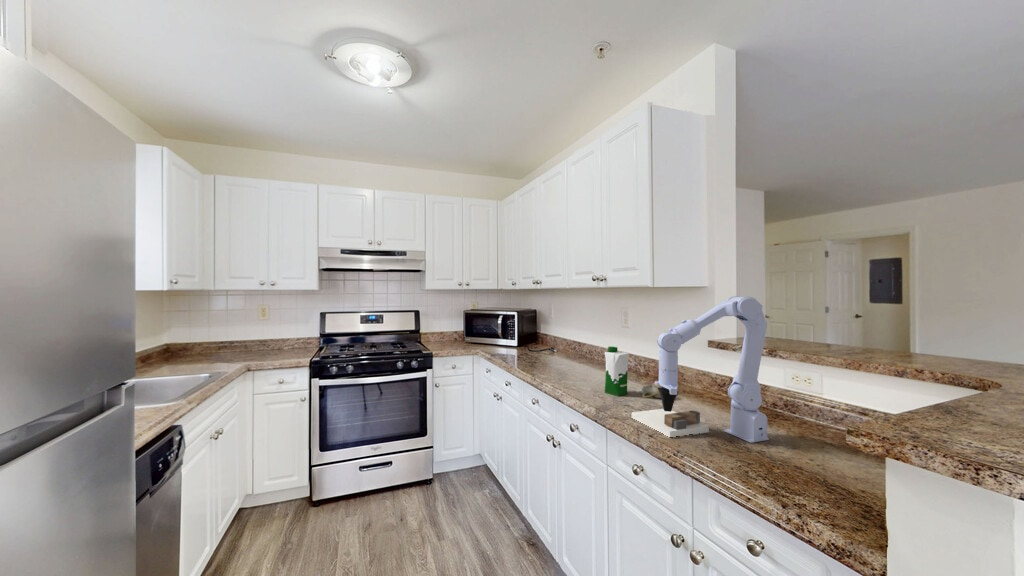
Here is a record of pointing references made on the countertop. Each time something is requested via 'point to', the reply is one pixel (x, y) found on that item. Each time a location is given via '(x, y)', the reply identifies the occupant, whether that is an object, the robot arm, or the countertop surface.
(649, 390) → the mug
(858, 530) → the countertop surface
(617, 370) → the milk carton
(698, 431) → the stool seat
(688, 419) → the folding leg
